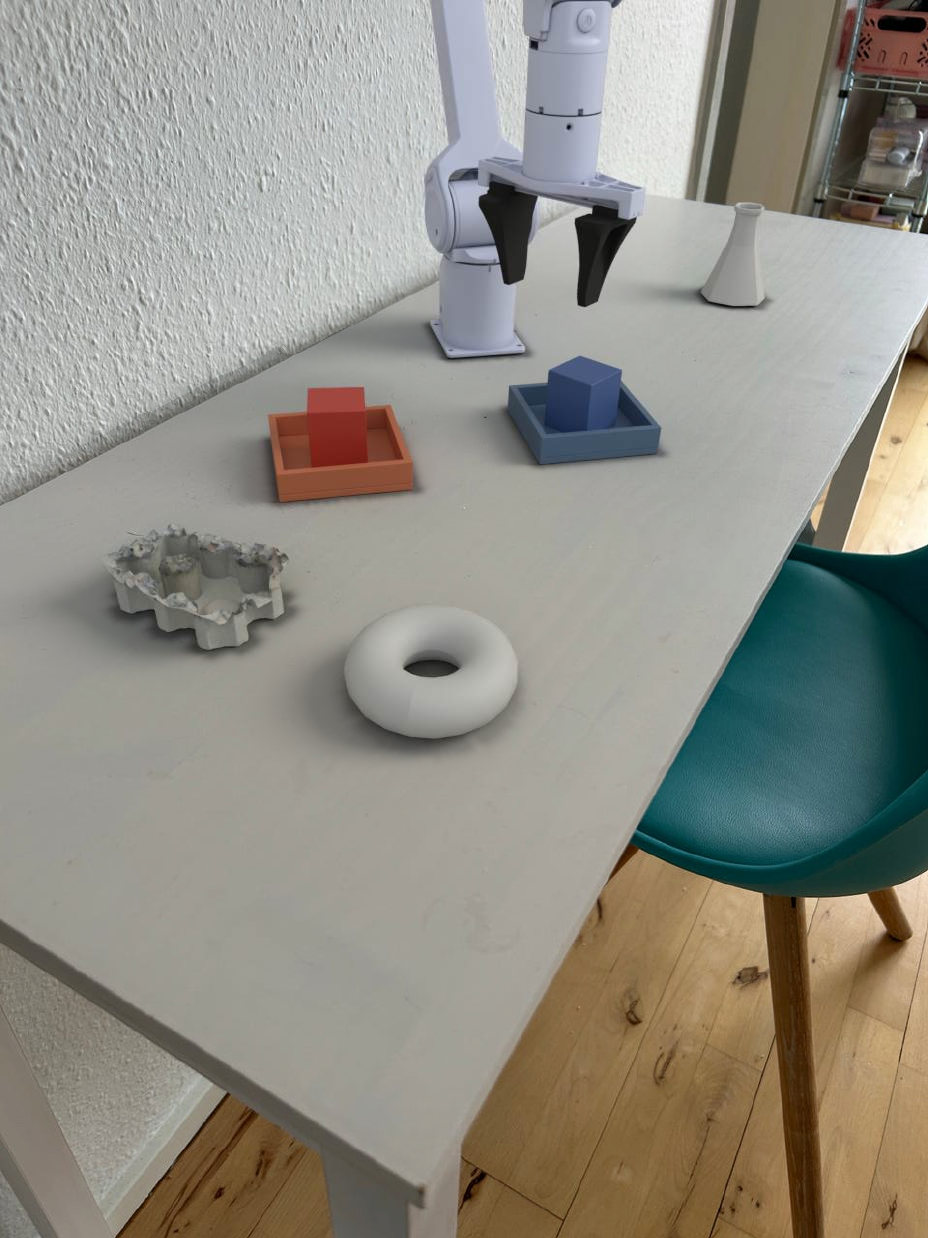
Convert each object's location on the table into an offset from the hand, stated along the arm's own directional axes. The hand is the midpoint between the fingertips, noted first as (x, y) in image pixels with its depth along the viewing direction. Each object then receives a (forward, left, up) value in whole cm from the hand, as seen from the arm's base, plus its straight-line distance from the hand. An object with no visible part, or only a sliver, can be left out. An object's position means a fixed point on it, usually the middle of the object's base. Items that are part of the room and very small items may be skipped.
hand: (549, 292), depth 79 cm
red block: (+7, -19, -10) cm, 22 cm away
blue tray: (+5, +2, -10) cm, 12 cm away
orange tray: (+7, -19, -10) cm, 23 cm away
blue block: (+5, +2, -10) cm, 11 cm away
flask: (-24, +30, -11) cm, 40 cm away
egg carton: (+24, -30, -11) cm, 40 cm away
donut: (+35, -17, -11) cm, 40 cm away
